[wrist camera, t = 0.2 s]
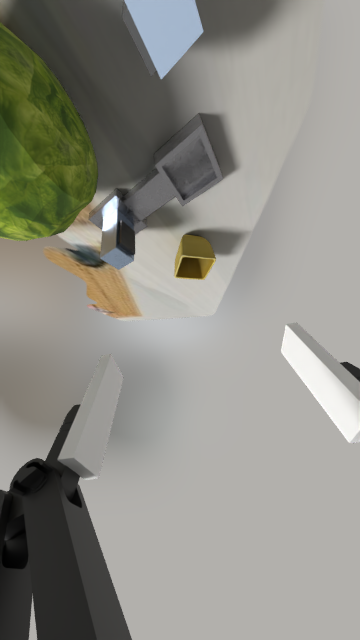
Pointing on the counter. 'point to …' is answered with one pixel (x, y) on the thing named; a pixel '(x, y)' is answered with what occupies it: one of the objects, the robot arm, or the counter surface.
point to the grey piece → (157, 191)
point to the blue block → (162, 30)
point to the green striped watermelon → (39, 148)
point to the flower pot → (194, 258)
